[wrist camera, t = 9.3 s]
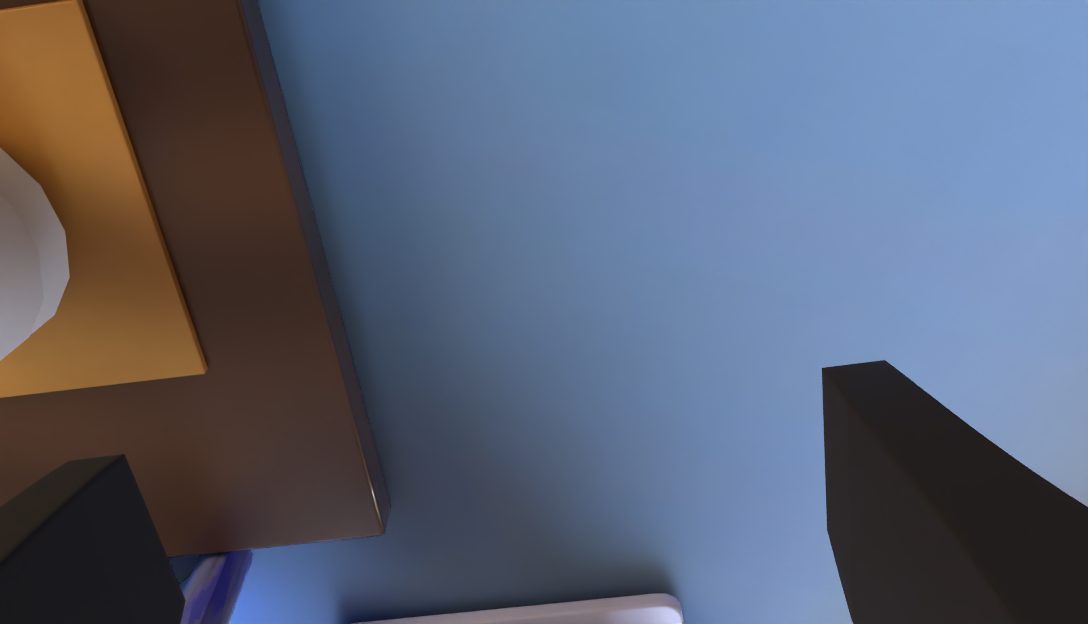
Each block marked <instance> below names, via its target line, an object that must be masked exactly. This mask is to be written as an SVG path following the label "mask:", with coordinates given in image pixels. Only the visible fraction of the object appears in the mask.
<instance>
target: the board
mask: <svg viewBox="0 0 1088 624" xmlns="http://www.w3.org/2000/svg"><path fill="white" fill-rule="evenodd" d="M0 148H1V149H2V150H3V151H5V152H6V153H7V154H8V155H9V156H10V157H11V158H12V159H13V160H14V161H15V162H16V163H17V164H18V165H19V166H20V167H22V168H23V169H24V170H25V171H26V172H27V173H28V174H29V175H30V176H31V177H32V178H33V179H34V180H35V181H36V182H37V183H39V184H40V185H41V187H42V189H43V191H44V193H45V195H46V196H47V198H48V200H49V202H50V204H51V206H52V208H53V210H54V211H55V213H56V215H57V217H58V219H59V221H60V223H61V225H62V227H63V228H64V230H65V234H66V244H67V254H68V265H69V275H70V278H69V280H68V283H67V285H66V288H65V290H64V293H63V295H62V298H61V300H60V303H59V305H58V308H57V311H56V313H55V315H54V316H53V317H52V318H50V319H49V320H48V321H47V322H46V323H44V324H43V325H42V326H41V327H39V328H38V329H37V330H36V331H35V332H33V333H32V334H31V335H30V336H29V338H27V339H26V340H25V341H24V342H22V343H21V344H20V345H19V346H18V347H16V348H15V349H14V350H13V351H12V352H10V353H9V354H8V355H7V356H5V357H4V358H3V359H2V360H1V361H0V507H1V506H3V505H4V504H5V503H7V502H8V501H9V500H11V499H12V498H13V497H15V496H16V495H18V494H19V493H20V492H22V491H23V490H25V489H26V488H28V487H29V486H30V485H32V484H33V483H35V482H36V481H38V480H39V479H41V478H42V477H44V476H45V475H47V474H48V473H50V472H51V471H53V470H55V469H56V468H58V467H60V466H61V465H63V464H64V463H66V462H68V461H71V460H79V459H87V458H95V457H103V456H111V455H119V454H125V456H126V459H127V461H128V464H129V466H130V468H131V471H132V473H133V476H134V478H135V480H136V483H137V485H138V488H139V490H140V492H141V495H142V497H143V499H144V502H145V504H146V507H147V509H148V511H149V514H150V516H151V519H152V521H153V523H154V526H155V528H156V531H157V533H158V535H159V538H160V540H161V543H162V545H163V547H164V550H165V552H166V554H167V557H168V558H173V557H182V556H192V555H201V554H211V553H221V552H230V551H240V550H249V549H259V548H269V547H278V546H288V545H297V544H307V543H316V542H326V541H336V540H345V539H355V538H364V537H374V536H382V535H384V534H385V531H386V527H387V522H388V517H389V513H390V508H391V504H390V501H389V497H388V493H387V489H386V485H385V482H384V478H383V474H382V470H381V467H380V463H379V459H378V455H377V451H376V448H375V444H374V440H373V436H372V432H371V429H370V425H369V421H368V417H367V414H366V410H365V406H364V402H363V398H362V395H361V391H360V387H359V383H358V379H357V376H356V372H355V368H354V364H353V360H352V357H351V353H350V349H349V345H348V342H347V338H346V334H345V330H344V326H343V323H342V319H341V315H340V311H339V307H338V304H337V300H336V296H335V292H334V289H333V285H332V281H331V277H330V273H329V270H328V266H327V262H326V258H325V254H324V251H323V247H322V243H321V239H320V235H319V232H318V228H317V224H316V220H315V217H314V213H313V209H312V205H311V201H310V198H309V194H308V190H307V186H306V182H305V179H304V175H303V171H302V167H301V164H300V160H299V156H298V152H297V148H296V145H295V141H294V137H293V133H292V129H291V126H290V122H289V118H288V114H287V110H286V107H285V103H284V99H283V95H282V92H281V88H280V84H279V80H278V76H277V73H276V69H275V65H274V61H273V57H272V54H271V50H270V46H269V42H268V39H267V35H266V31H265V27H264V23H263V20H262V16H261V12H260V8H259V4H258V1H257V0H0Z"/></svg>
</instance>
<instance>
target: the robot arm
mask: <svg viewBox="0 0 1088 624" xmlns="http://www.w3.org/2000/svg"><path fill="white" fill-rule="evenodd" d="M822 385H823V416H824V447H825V477H826V508H827V531H828V534H829V538H830V542H831V546H832V550H833V553H834V557H835V561H836V565H837V568H838V572H839V576H840V580H841V583H842V587H843V590H844V594H845V598H846V601H847V605H848V608H849V612H850V615H851V619H852V621H853V624H1088V507H1087V506H1085V505H1084V504H1082V503H1081V502H1079V501H1077V500H1076V499H1074V498H1073V497H1071V496H1069V495H1068V494H1066V493H1065V492H1063V491H1062V490H1060V489H1059V488H1057V487H1056V486H1054V485H1053V484H1051V483H1050V482H1048V481H1047V480H1045V479H1044V478H1042V477H1041V476H1039V475H1038V474H1036V473H1035V472H1033V471H1032V470H1031V469H1029V468H1028V467H1026V466H1025V465H1023V464H1022V463H1020V462H1019V461H1018V460H1016V459H1015V458H1013V457H1012V456H1011V455H1009V454H1008V453H1006V452H1005V451H1004V450H1002V449H1001V448H999V447H998V446H997V445H995V444H994V443H992V442H991V441H990V440H988V439H987V438H986V437H984V436H983V435H982V434H980V433H979V432H978V431H976V430H975V429H974V428H972V427H971V426H969V425H968V424H967V423H966V422H964V421H963V420H962V419H960V418H959V417H958V416H956V415H955V414H954V413H952V412H951V411H950V410H949V409H947V408H946V407H945V406H943V405H942V404H941V403H940V402H938V401H937V400H936V399H934V398H933V397H932V396H931V395H929V394H928V393H927V392H925V391H924V390H923V389H922V388H920V387H919V386H918V385H916V384H915V383H914V382H913V381H911V380H910V379H909V378H907V377H906V376H905V375H904V374H902V373H901V372H900V371H898V370H897V369H896V368H895V367H893V366H892V365H891V364H889V363H888V362H887V361H885V360H883V361H875V362H866V363H858V364H850V365H842V366H834V367H826V368H822ZM185 602H186V600H185V597H184V595H183V593H182V590H181V588H180V586H179V583H178V581H177V578H176V576H175V574H174V571H173V569H172V566H171V564H170V562H169V559H168V557H167V554H166V552H165V550H164V547H163V545H162V543H161V540H160V538H159V535H158V533H157V531H156V528H155V526H154V523H153V521H152V519H151V516H150V514H149V511H148V509H147V507H146V504H145V502H144V499H143V497H142V495H141V492H140V490H139V488H138V485H137V483H136V480H135V478H134V476H133V473H132V471H131V468H130V466H129V464H128V461H127V459H126V456H125V454H119V455H111V456H103V457H95V458H87V459H79V460H71V461H68V462H66V463H64V464H63V465H61V466H60V467H58V468H56V469H55V470H53V471H51V472H50V473H48V474H47V475H45V476H44V477H42V478H41V479H39V480H38V481H36V482H35V483H33V484H32V485H30V486H29V487H28V488H26V489H25V490H23V491H22V492H20V493H19V494H18V495H16V496H15V497H13V498H12V499H11V500H9V501H8V502H7V503H5V504H4V505H3V506H1V507H0V624H181V619H182V615H183V611H184V606H185ZM352 624H684V621H683V613H682V607H681V605H680V602H679V601H678V600H677V599H676V598H675V597H674V596H671V595H669V594H663V593H655V594H645V595H635V596H624V597H614V598H604V599H594V600H584V601H574V602H563V603H553V604H543V605H533V606H523V607H512V608H502V609H492V610H482V611H472V612H462V613H451V614H441V615H431V616H421V617H411V618H400V619H390V620H380V621H370V622H360V623H352Z"/></svg>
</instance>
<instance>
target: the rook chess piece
mask: <svg viewBox="0 0 1088 624" xmlns="http://www.w3.org/2000/svg"><path fill="white" fill-rule="evenodd" d="M69 278H70V275H69V265H68V254H67V244H66V234H65V230H64V228H63V227H62V225H61V223H60V221H59V219H58V217H57V215H56V213H55V211H54V210H53V208H52V206H51V204H50V202H49V200H48V198H47V196H46V195H45V193H44V191H43V189H42V187H41V185H40V184H39V183H37V182H36V181H35V180H34V179H33V178H32V177H31V176H30V175H29V174H28V173H27V172H26V171H25V170H24V169H23V168H22V167H20V166H19V165H18V164H17V163H16V162H15V161H14V160H13V159H12V158H11V157H10V156H9V155H8V154H7V153H6V152H5V151H3V150H2V149H1V148H0V361H1V360H2V359H3V358H4V357H5V356H7V355H8V354H9V353H10V352H12V351H13V350H14V349H15V348H16V347H18V346H19V345H20V344H21V343H22V342H24V341H25V340H26V339H27V338H29V336H30V335H31V334H32V333H33V332H35V331H36V330H37V329H38V328H39V327H41V326H42V325H43V324H44V323H46V322H47V321H48V320H49V319H50V318H52V317H53V316H54V315H55V313H56V311H57V308H58V305H59V303H60V300H61V298H62V295H63V293H64V290H65V288H66V285H67V283H68V280H69Z"/></svg>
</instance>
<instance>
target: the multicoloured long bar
mask: <svg viewBox="0 0 1088 624" xmlns="http://www.w3.org/2000/svg"><path fill="white" fill-rule="evenodd" d="M252 555H253V554H252V552H251V550H250V549H249V550H240V551H230V552H221V553H211V554H201V556H200V557H199V559H198V561H197V563H196V565H195V567H194V568H193V570H192V572H191V574H190V576H189V577H188V578H187V579H185V580H184V581H183V582H182V583H180V584H179V586H180V588H181V590H182V593H183V595H184V597H185V600H186V602H185V606H184V611H183V615H182V619H181V624H229V621H230V618H231V616H232V613H233V610H234V608H235V605H236V602H237V600H238V597H239V594H240V592H241V589H242V586H243V584H244V581H245V578H246V576H247V573H248V570H249V568H250V565H251V560H252Z"/></svg>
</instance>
